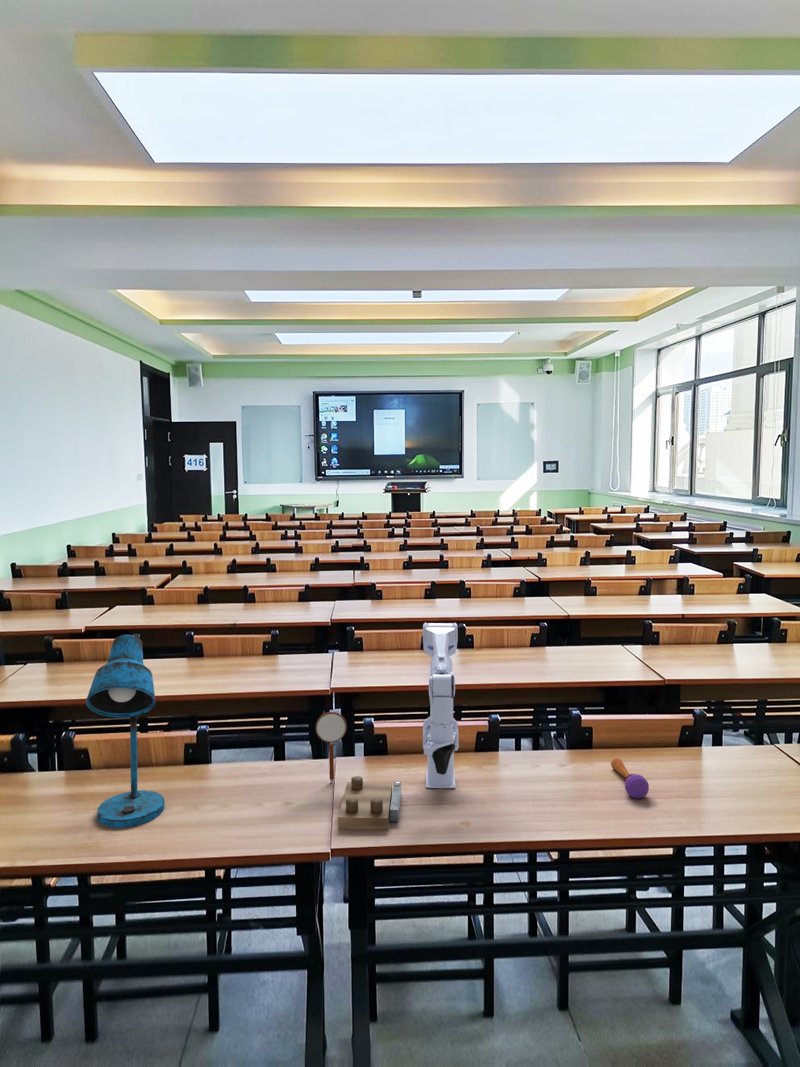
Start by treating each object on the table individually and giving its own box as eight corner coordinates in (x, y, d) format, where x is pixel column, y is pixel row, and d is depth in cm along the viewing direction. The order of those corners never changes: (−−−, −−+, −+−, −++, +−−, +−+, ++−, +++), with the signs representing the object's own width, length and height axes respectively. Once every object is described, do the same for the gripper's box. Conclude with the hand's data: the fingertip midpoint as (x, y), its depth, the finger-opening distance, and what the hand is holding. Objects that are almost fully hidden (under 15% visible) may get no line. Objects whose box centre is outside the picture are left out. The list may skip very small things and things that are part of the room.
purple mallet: (628, 755, 200) (654, 781, 180) (624, 776, 200) (649, 804, 180) (608, 752, 200) (631, 777, 180) (604, 772, 200) (627, 799, 180)
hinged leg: (394, 793, 185) (393, 780, 185) (401, 793, 185) (401, 780, 185) (390, 821, 170) (390, 807, 170) (398, 821, 170) (398, 807, 170)
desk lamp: (85, 841, 162) (76, 652, 158) (105, 798, 183) (97, 630, 179) (158, 834, 165) (151, 648, 161) (168, 792, 187) (162, 627, 182)
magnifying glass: (347, 780, 194) (346, 710, 192) (347, 783, 192) (346, 712, 190) (316, 781, 193) (315, 711, 191) (316, 784, 191) (314, 713, 189)
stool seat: (347, 792, 186) (347, 772, 186) (392, 793, 186) (392, 773, 185) (338, 829, 167) (337, 807, 167) (388, 830, 167) (387, 808, 166)
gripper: (441, 709, 183) (441, 759, 184) (413, 726, 171) (413, 780, 172) (465, 714, 179) (465, 765, 181) (438, 732, 167) (438, 786, 168)
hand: (441, 773), depth 176 cm, fingers closed
